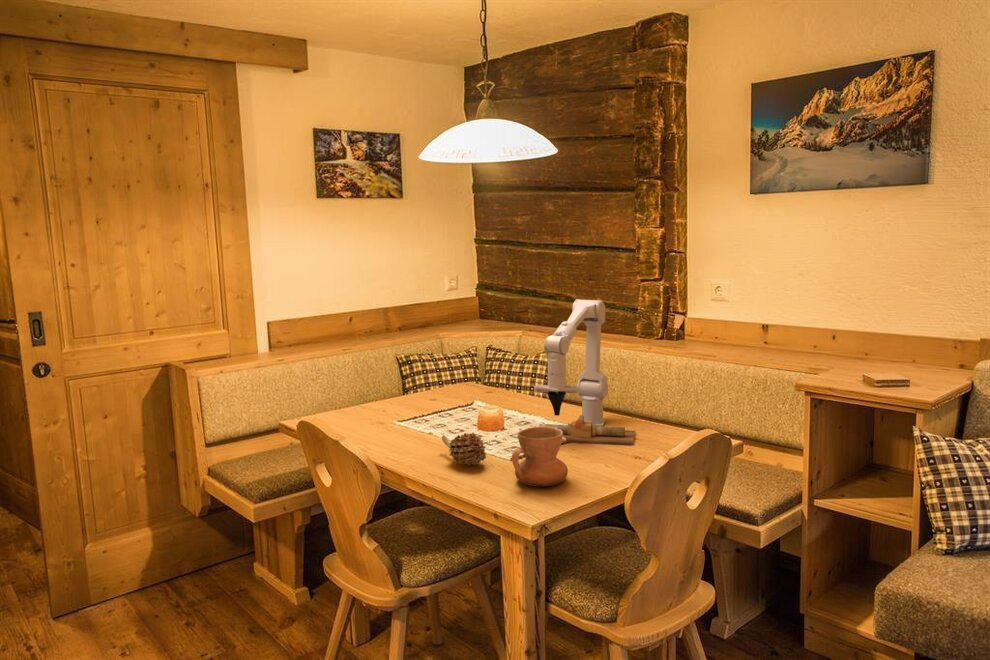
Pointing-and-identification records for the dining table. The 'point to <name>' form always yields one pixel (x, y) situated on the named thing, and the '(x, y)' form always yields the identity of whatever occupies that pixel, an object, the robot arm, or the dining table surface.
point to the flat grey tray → (594, 434)
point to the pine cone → (466, 449)
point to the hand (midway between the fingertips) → (557, 414)
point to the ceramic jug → (539, 457)
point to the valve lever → (579, 422)
